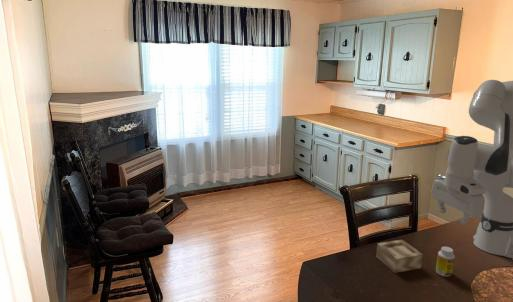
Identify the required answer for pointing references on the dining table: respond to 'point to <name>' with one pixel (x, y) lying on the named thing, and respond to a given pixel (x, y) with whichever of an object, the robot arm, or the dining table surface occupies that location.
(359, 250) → the dining table surface
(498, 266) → the dining table surface
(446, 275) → the supplement bottle
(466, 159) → the robot arm
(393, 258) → the grey beige stone block
